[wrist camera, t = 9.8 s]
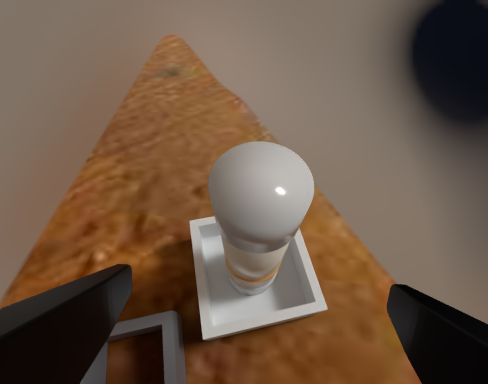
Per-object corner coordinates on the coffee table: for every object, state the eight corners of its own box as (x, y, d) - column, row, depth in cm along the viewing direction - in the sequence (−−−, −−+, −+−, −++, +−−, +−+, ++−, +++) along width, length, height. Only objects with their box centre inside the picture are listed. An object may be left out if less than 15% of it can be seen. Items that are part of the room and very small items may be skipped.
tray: (314, 314, 20) (327, 309, 17) (209, 340, 19) (202, 339, 16) (283, 220, 24) (290, 201, 21) (196, 237, 23) (189, 220, 20)
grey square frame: (189, 416, 16) (179, 429, 14) (90, 443, 16) (61, 463, 13) (181, 314, 20) (172, 310, 17) (98, 333, 19) (76, 332, 16)
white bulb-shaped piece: (273, 298, 19) (316, 236, 8) (224, 292, 19) (198, 224, 8) (276, 249, 21) (312, 145, 10) (231, 244, 21) (217, 137, 10)
